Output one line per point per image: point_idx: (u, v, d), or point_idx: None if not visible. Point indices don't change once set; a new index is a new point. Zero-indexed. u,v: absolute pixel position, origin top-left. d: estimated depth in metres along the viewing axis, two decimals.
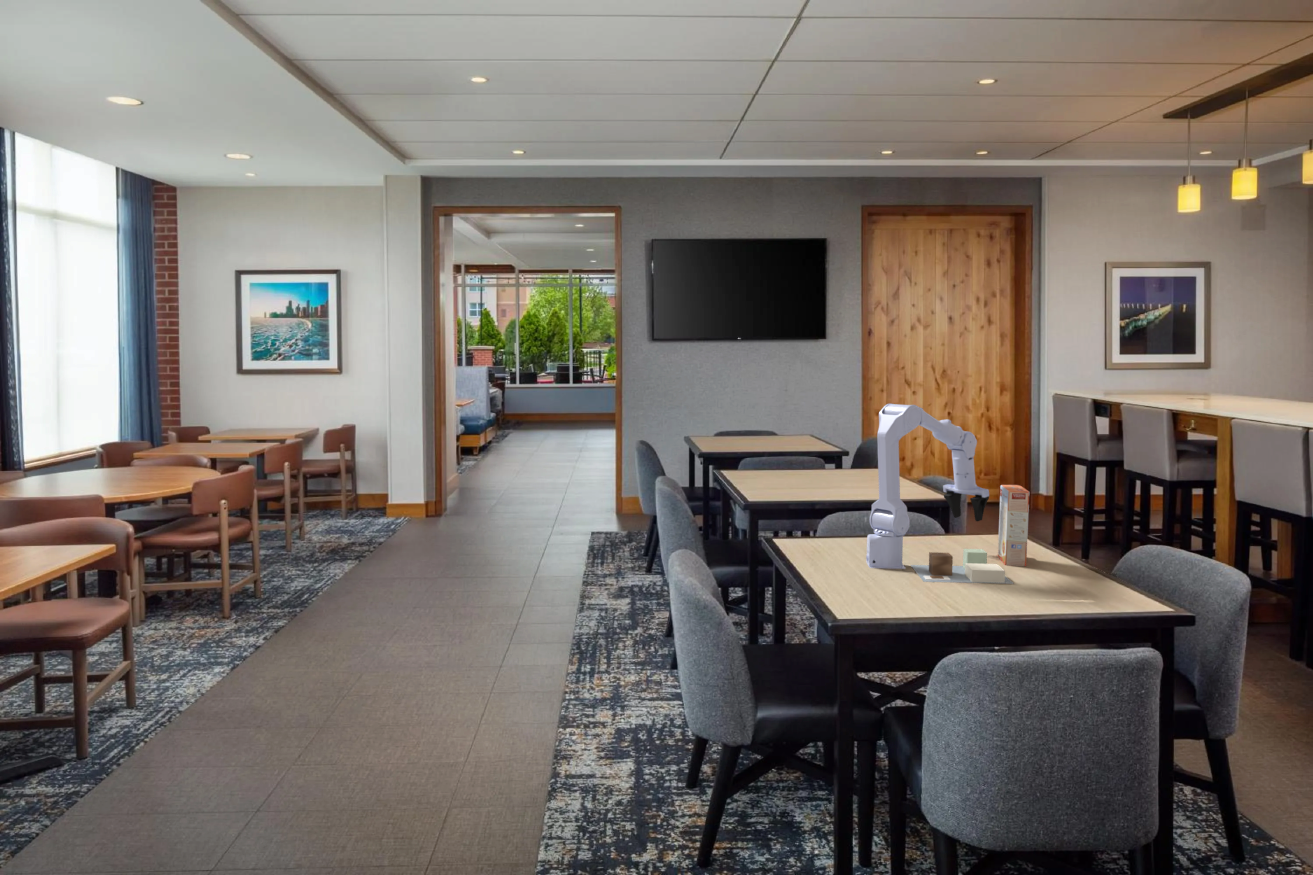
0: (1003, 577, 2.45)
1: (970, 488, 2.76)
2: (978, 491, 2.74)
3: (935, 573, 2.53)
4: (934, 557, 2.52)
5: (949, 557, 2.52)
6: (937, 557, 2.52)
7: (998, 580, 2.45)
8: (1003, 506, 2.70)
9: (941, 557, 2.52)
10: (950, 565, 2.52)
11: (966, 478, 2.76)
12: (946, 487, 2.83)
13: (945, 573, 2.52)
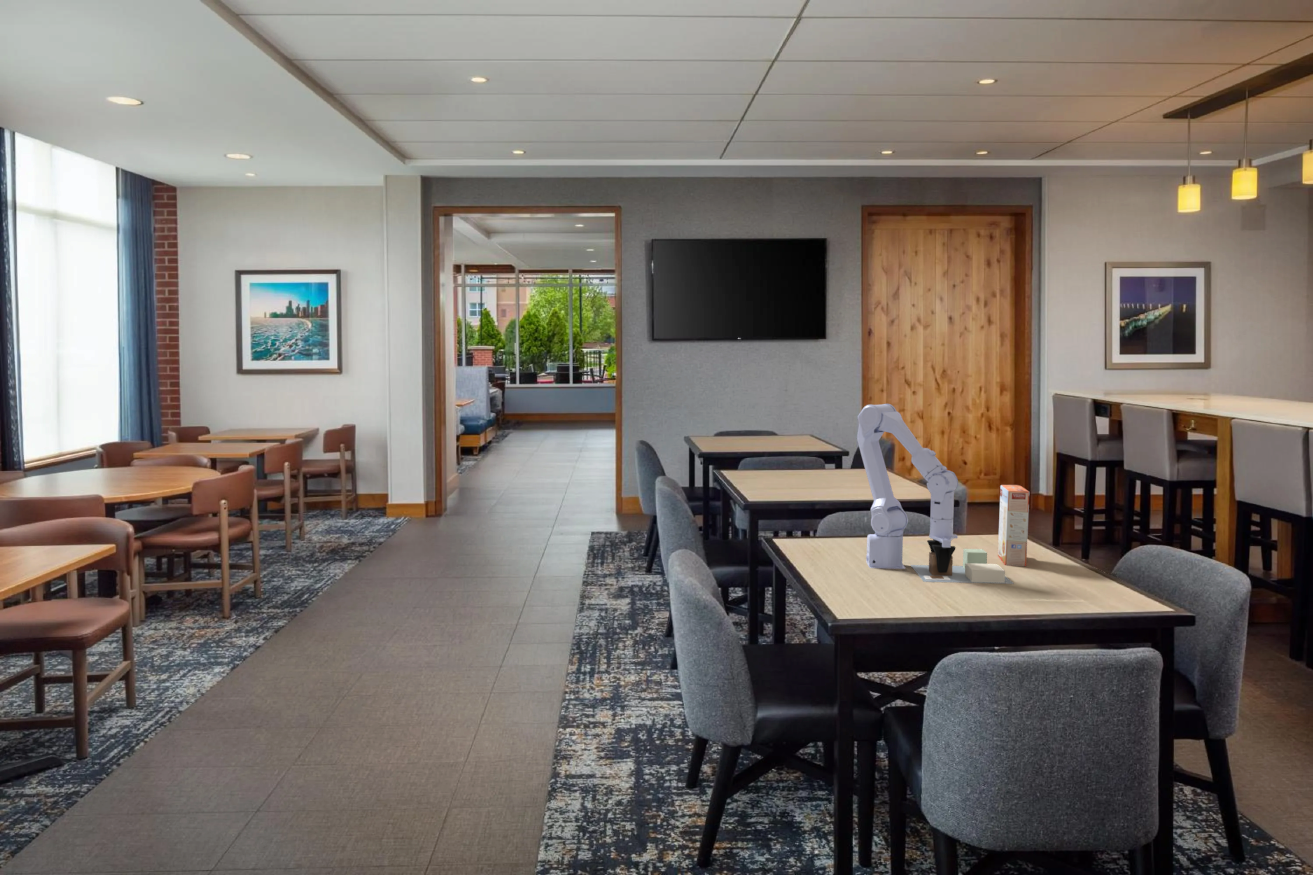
0: (1003, 577, 2.45)
1: (939, 535, 2.52)
2: (940, 539, 2.49)
3: (935, 573, 2.53)
4: (934, 557, 2.52)
5: None
6: None
7: (998, 580, 2.45)
8: (1003, 506, 2.70)
9: None
10: (950, 565, 2.52)
11: (936, 523, 2.52)
12: None
13: (945, 573, 2.52)
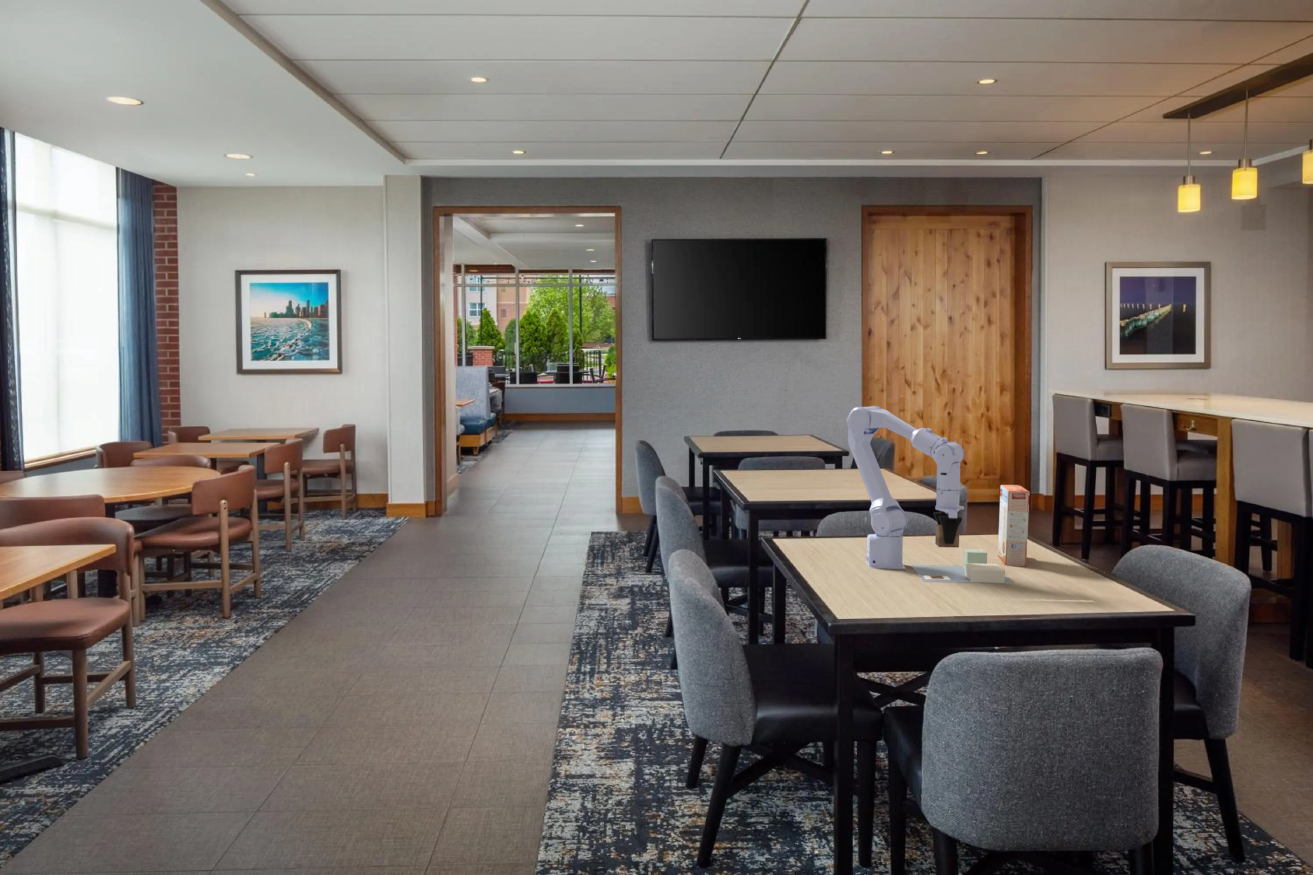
0: (1003, 577, 2.45)
1: (945, 506, 2.50)
2: (947, 510, 2.48)
3: (942, 545, 2.51)
4: (941, 529, 2.51)
5: None
6: None
7: (998, 580, 2.45)
8: (1003, 506, 2.70)
9: None
10: (957, 537, 2.51)
11: (942, 494, 2.51)
12: None
13: (952, 545, 2.51)
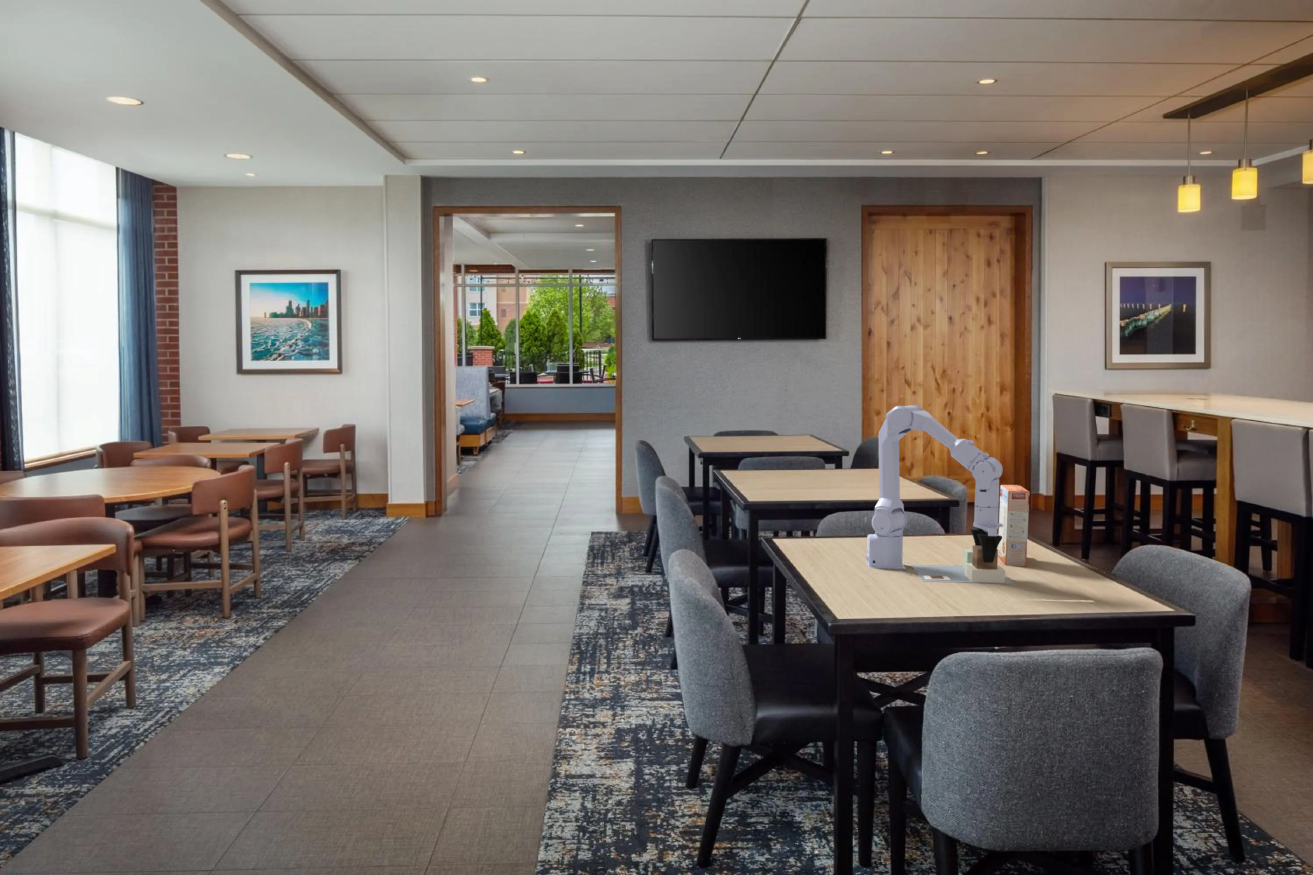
0: (1003, 577, 2.45)
1: (984, 524, 2.45)
2: (986, 528, 2.43)
3: (980, 566, 2.46)
4: (979, 550, 2.46)
5: None
6: None
7: (998, 580, 2.45)
8: (1003, 506, 2.70)
9: None
10: (995, 558, 2.46)
11: (981, 511, 2.46)
12: None
13: (990, 566, 2.46)
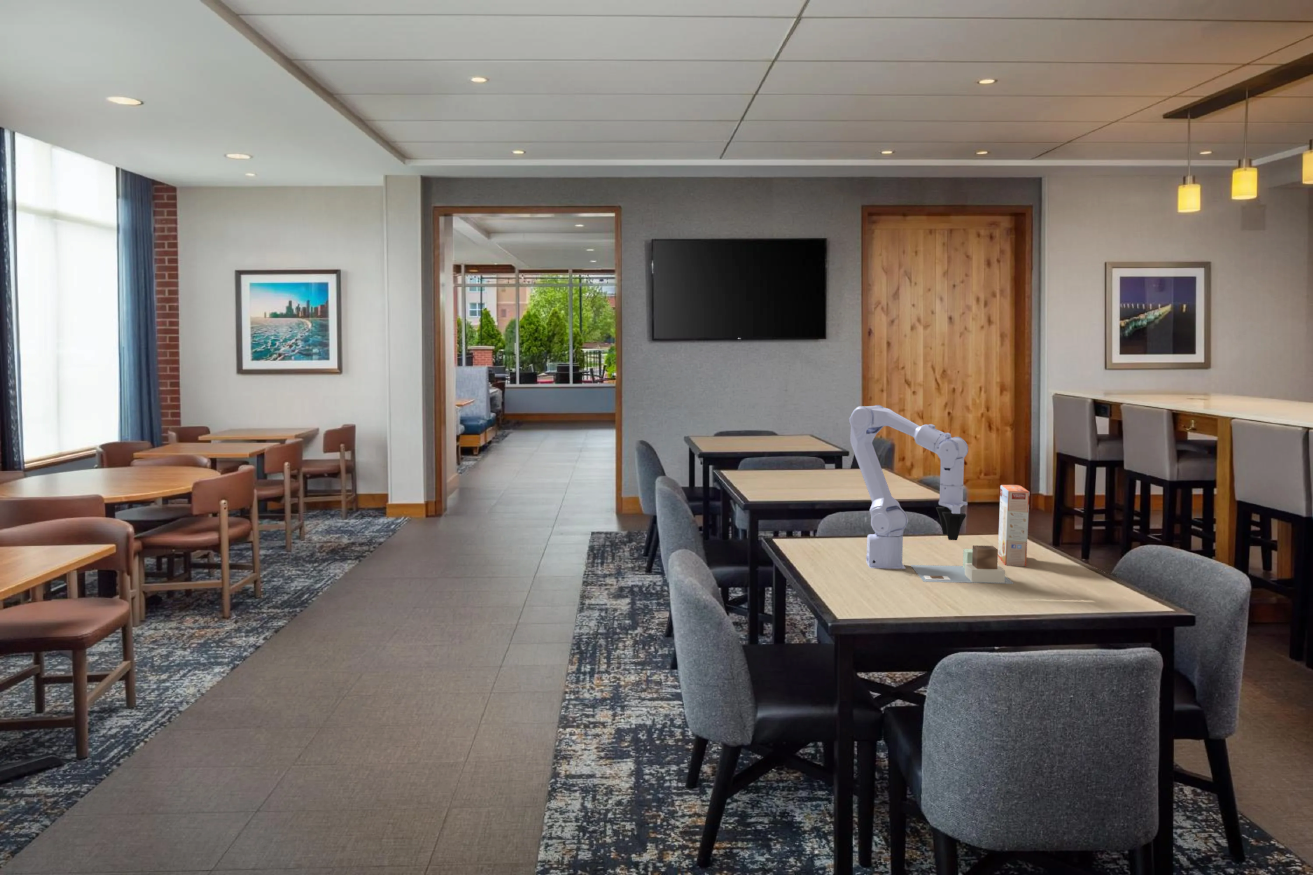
0: (1003, 577, 2.45)
1: (948, 502, 2.49)
2: (950, 505, 2.47)
3: (980, 566, 2.46)
4: (979, 550, 2.46)
5: (994, 550, 2.46)
6: (982, 550, 2.46)
7: (998, 580, 2.45)
8: (1003, 506, 2.70)
9: (986, 550, 2.46)
10: (995, 558, 2.46)
11: (945, 490, 2.50)
12: None
13: (990, 566, 2.46)
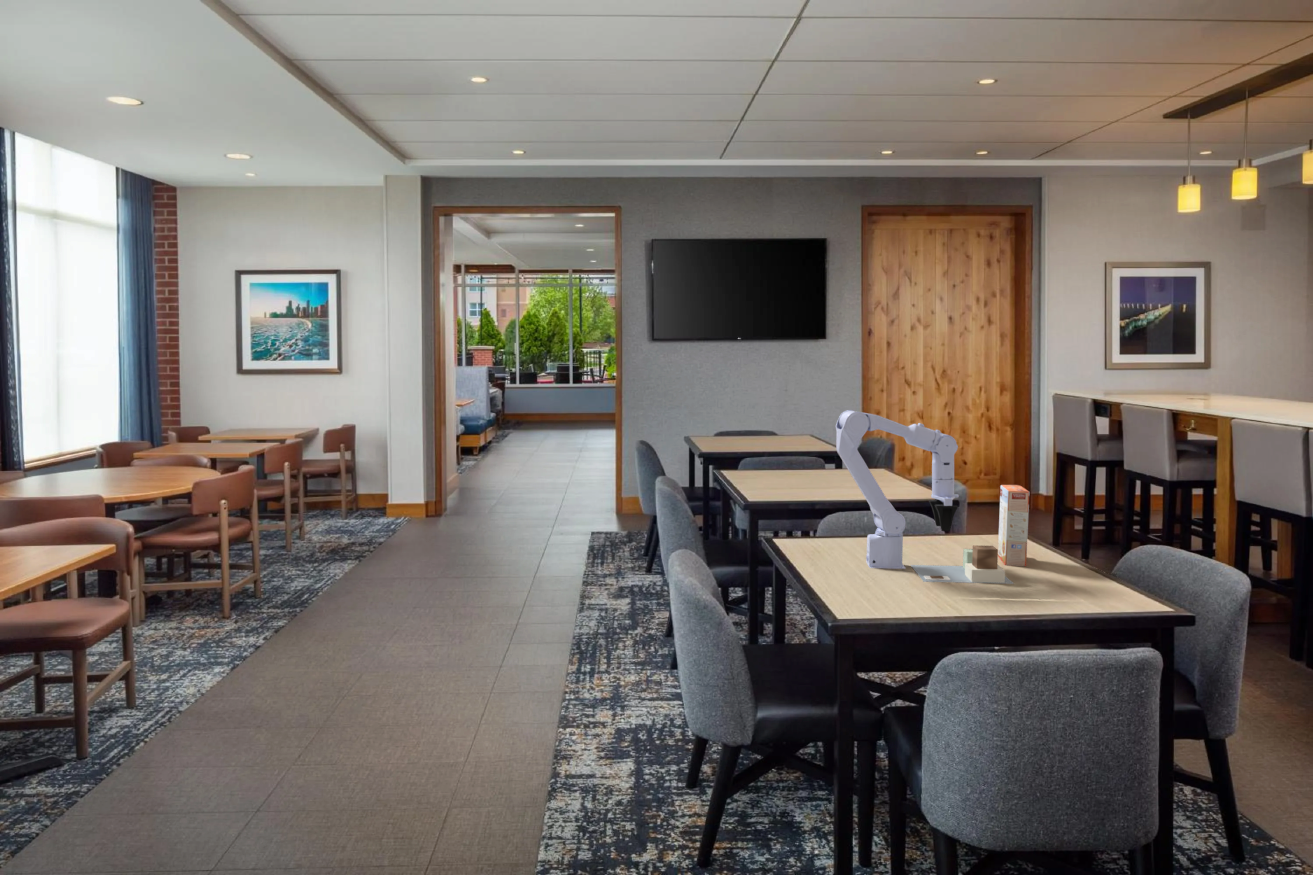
0: (1003, 577, 2.45)
1: (941, 495, 2.62)
2: (942, 498, 2.59)
3: (980, 566, 2.46)
4: (979, 550, 2.46)
5: (994, 550, 2.46)
6: (982, 550, 2.46)
7: (998, 580, 2.45)
8: (1003, 506, 2.70)
9: (986, 550, 2.46)
10: (995, 558, 2.46)
11: (937, 483, 2.62)
12: None
13: (990, 566, 2.46)
